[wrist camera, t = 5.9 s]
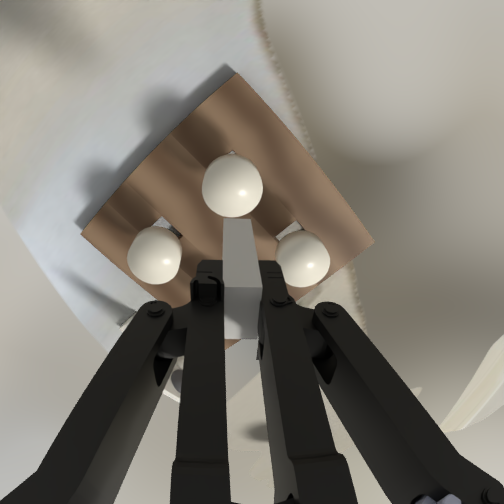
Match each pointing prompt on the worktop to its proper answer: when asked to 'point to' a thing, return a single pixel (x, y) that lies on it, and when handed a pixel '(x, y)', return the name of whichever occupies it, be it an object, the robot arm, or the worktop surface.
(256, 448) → the worktop surface
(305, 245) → the button
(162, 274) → the button
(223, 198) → the button
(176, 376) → the card
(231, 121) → the board
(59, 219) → the worktop surface
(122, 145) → the worktop surface
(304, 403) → the robot arm
